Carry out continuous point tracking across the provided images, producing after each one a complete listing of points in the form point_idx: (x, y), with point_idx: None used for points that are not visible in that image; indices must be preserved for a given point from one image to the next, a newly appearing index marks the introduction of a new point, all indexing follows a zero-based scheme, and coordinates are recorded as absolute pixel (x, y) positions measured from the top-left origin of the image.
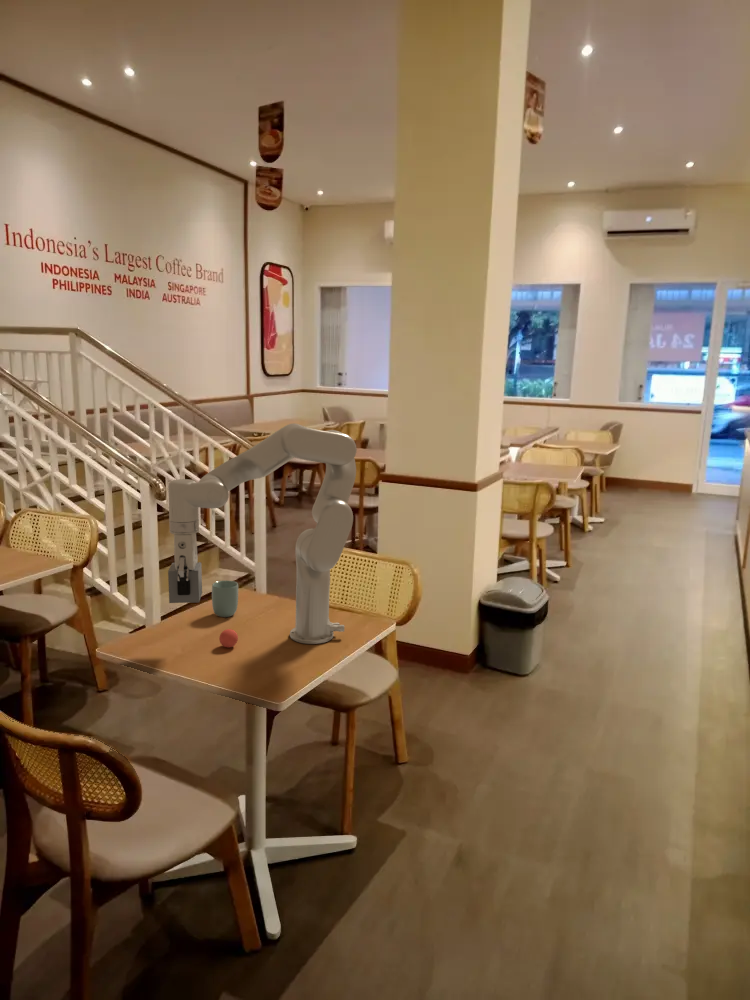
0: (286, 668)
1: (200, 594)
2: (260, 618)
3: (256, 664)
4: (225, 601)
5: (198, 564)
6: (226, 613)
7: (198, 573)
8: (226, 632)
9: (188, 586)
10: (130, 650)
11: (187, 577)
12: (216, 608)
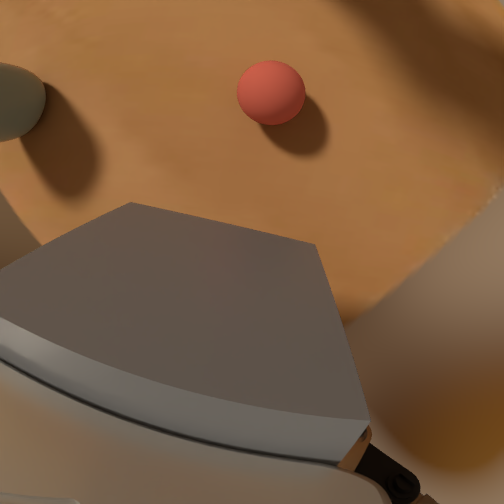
0: (449, 9)
1: (219, 229)
2: (76, 9)
3: (419, 59)
4: (19, 97)
5: (33, 355)
6: (42, 97)
7: (332, 377)
8: (285, 97)
9: None
10: None
11: (365, 449)
12: (24, 127)
